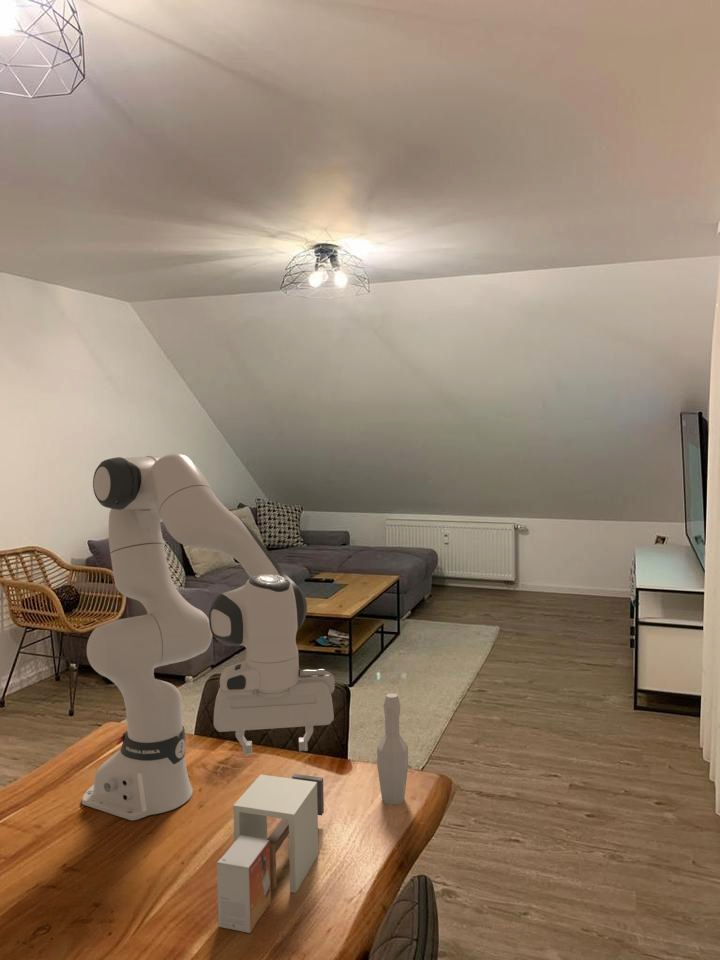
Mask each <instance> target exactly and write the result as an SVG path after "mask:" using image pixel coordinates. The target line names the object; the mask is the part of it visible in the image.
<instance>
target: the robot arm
mask: <svg viewBox="0 0 720 960" xmlns="http://www.w3.org/2000/svg"><path fill="white" fill-rule="evenodd" d="M92 487H93V489H92V490H93V494H94V496H95V498H96V500H97V501H98V503H99V504H100V505H101V506H102V507H105V508H107V509H110V510H109V513H108V514H109V515H108V545H109V554H110V560H111V566H112V567H111V568H112V574H113V581H114V586H115V588H116V590H117V591H118V592H119V593H120V594H121V595H122V596H124V597H127V598H129V599H132V600H135V601H138V602H140V603H141V604H142V605H143V607H144V609H145V610H146V612H147V614H143V615H138V616H137V615H136V616H132V617H130V616H129V617H126V618H119V619H116V620H112V621H111V622H110V621H109V622H108V623H105V624H102V625H100V626H96V627H95V629H93V631H92V632H91V634H90V635H89V638H88V640H87V644H86V657H87V660H88V663H89V665H90V666H91V668H92V669H93V670H94V671H95V672H96V673H98V674H99V675H100V676H101V677H105V678H107V679H108V680H109V681H111V682H112V683H113V684H114V685H115V686H116V687H117V688H118V690H119V692H120V693H121V695H122V698H123V702H124V707H125V714H126V724H127V725H126V726H127V730H126V731H125V732H123V733H122V735H121V736H120V737H118V738H116V740H115V741H117V742H116V743H115V745H117V746H118V745H119V744H121V743H122V745H121V747H120V749H119V750H117V751H116V752H115V753H114V754H112V755H111V756H109V758H108V759H107V760H105V761H104V762H103V763H102V764H101V765H100V766H99V767H98V769H97V771H96V773H95V776H94V779H93V780H94V781H93V784H92V785H91V786H90V787H89V788H88V789H87V790H86V791H85V793H84V794H83V796H82V799H81V804H82V805H84V806H86V807H90V808H92V809H95V810H99V811H102V812H104V813H107V814H110V815H112V816H113V815H114V816H116V817H120V818H122V819H126V820H129V821H137V820H140V819H143V818H145V817H148V816H152V815H157V814H162V813H163V814H164V813H166V812H170V811H172V810H175V809H177V808H179V807H181V806H182V805H184V804H185V803H186V802H188V801H189V800H190V799H191V797H192V795H193V793H194V792H193V791H194V789H193V787H192V784H191V781H190V778H189V774H188V770H187V769H188V768H187V765H186V764H187V763H186V757H185V755H186V734H185V733H186V732H185V731H186V730H185V726H184V725H183V706H182V705H183V704H182V703H183V701H182V699H183V698H182V695H181V692H180V690H179V689H178V687H176V686H175V684H173V683H170V682H168V681H164V680H161V679H158V678H155V674H154V673H155V669H156V668H157V669H158V667H162V666H163V667H164V666H168V665H171V664H176V663H180V662H181V663H182V662H184V661H188V660H190V659H193V658H195V657H197V656H199V655H201V654H204V653H205V652H206V651H207V650H208V649H209V647H210V645H211V643H212V639H213V638H215V639H216V640H217V641H218V642H219V643H221V644H223V645H225V646H231V647H236V646H237V647H238V646H243V647H245V650H246V654H245V659H244V660H242V661H239V662H236V663H234V664H231V665H229V666H226V667H225V668H224V669H223V670H222V672H221V674H220V678H219V686H220V687H219V688H218V691H217V694H216V698H215V703H214V709H213V727H214V728H215V730H216V731H217V732H219V733H222V732H224V733H226V732H235V738H236V739H237V741H238V743H239V744H240V746H242V755H243V756H249V755H253V747H252V746H253V741H252V740H247V739H246V737H245V731H255V730H268V729H283V728H284V729H285V728H297V727H298V728H300V727H301V728H302V727H304V729H305V733H304V734H303V737H301V736H300V737H298V751H299V752H307V751H308V742H309V741H310V738H311V737H312V736H313V733H314V726H316V727H317V726H327V725H329V726H330V724H331V723H332V722H333V721H334V719H335V715H334V713H335V712H334V706H333V705H334V704H333V698H332V694H333V693H334V691H335V688H336V687H335V685H336V684H335V677H334V675H333V674H332V673H331V672H330V671H327V670H326V669H324V668H318V669H300V667H299V665H300V663H299V661H300V660H299V649H298V646H297V640H296V637H297V632H298V631H299V630H300V628H301V627H302V625H303V624H304V622H305V619H306V617H307V613H308V602H307V599H306V596H305V594H304V593H303V590H301V588H300V587H299V585H298V584H296V583H295V581H293V579H291V578H290V577H289V576H288V575H287V574H286V572H284V571H283V569H282V568H281V566H280V565H279V564H278V562H277V560H275V558H274V557H273V556H272V554H271V553H270V552H269V550H268V549H267V547H266V546H265V545H264V543H263V542H262V541H261V539H260V538H259V537H258V536H257V534H256V533H255V531H254V530H253V529H252V528H251V527H250V525H249V524H248V523H247V522H246V521H245V520H243V519H242V518H240V517H239V516H237V515H235V514H234V513H232V512H231V511H230V510H229V509H228V508H227V507H226V506H225V505H224V504H223V503H222V502H221V501H220V500H219V498H218V497H217V496H216V494H215V492H214V491H213V488H212V487H211V484H210V483H209V481H208V480H207V478H206V477H205V475H204V474H203V473H202V471H201V470H200V468H199V467H198V466H197V465H196V463H194V461H193V460H192V459H191V458H190V457H189V456H187V455H185V454H181V453H170V454H166V455H163V456H154V455H146V456H132V457H131V456H130V457H121V456H119V457H117V456H116V457H112V458H108V459H107V458H106V459H105V460H103V461H101V462H100V463H99V464H98V466H97V467H96V469H95V471H94V474H93V479H92ZM161 520H162V524H163V525H164V527H165V529H166V530H167V532H168V534H169V535H170V536H171V537H172V538H173V539H174V540H175V541H176V542H177V543H179V544H180V545H184V546H186V547H189V548H192V549H199V550H200V549H201V550H207V551H212V552H216V553H217V552H218V553H221V554H224V555H228V556H229V557H231V558H233V559H235V560H236V561H237V562H239V565H241V567H242V568H243V569H244V571H245V572H246V574H247V575H248V576H249V578H248V579H247V580H246V583H245V584H244V585H241V586H240V587H238V588H236V589H232V590H228V591H226V592H223V593H221V594H217V596H216V597H214V600H213V601H212V603H211V605H210V608H209V613H208V616H207V614H206V613H204V611H202V609H199V608H197V607H195V606H194V605H193V604H191V603H189V602H188V600H186V599H185V598H184V596H182V595H181V593H180V592H179V590H178V589H177V588H176V585H175V583H174V581H173V579H172V576H171V572H170V568H169V563H168V559H167V554H166V548H165V543H164V538H163V533H162V528H161ZM213 636H214V637H213Z"/></svg>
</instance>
